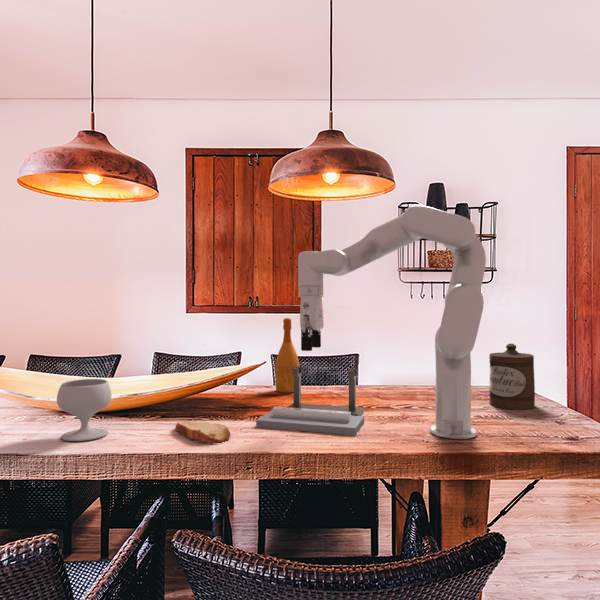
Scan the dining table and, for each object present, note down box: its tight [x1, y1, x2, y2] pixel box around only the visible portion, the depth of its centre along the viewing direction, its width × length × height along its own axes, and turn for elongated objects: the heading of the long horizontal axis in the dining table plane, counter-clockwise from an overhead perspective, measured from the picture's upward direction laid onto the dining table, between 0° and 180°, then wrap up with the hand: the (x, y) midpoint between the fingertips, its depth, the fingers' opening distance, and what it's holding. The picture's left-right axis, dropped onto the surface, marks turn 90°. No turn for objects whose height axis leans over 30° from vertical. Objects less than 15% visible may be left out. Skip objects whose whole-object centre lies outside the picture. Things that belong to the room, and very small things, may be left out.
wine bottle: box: [274, 317, 300, 394], centre depth 200 cm, size 10×10×30 cm
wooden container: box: [488, 343, 536, 410], centre depth 174 cm, size 15×15×22 cm
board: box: [255, 409, 365, 436], centre depth 147 cm, size 14×30×2 cm, turn 73°
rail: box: [272, 406, 351, 422], centre depth 147 cm, size 2×24×2 cm, turn 73°
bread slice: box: [174, 421, 232, 445], centre depth 137 cm, size 18×18×4 cm
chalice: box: [56, 378, 112, 442], centre depth 136 cm, size 14×14×15 cm
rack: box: [287, 366, 365, 416], centre depth 163 cm, size 10×25×15 cm, turn 73°
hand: (311, 348), depth 147 cm, fingers open, 9 cm apart
